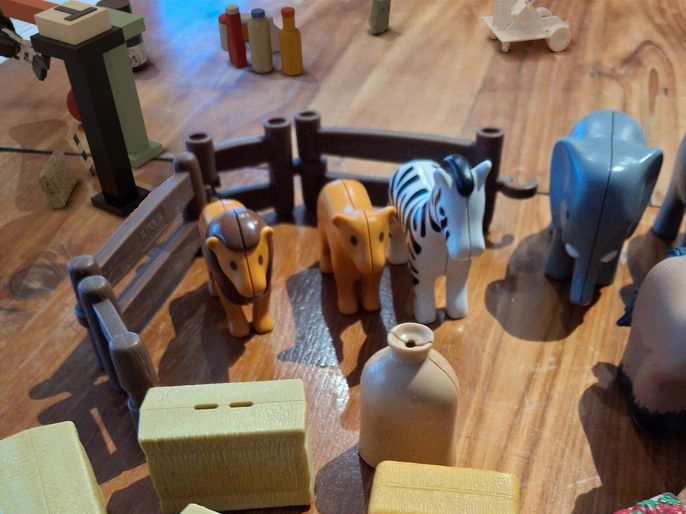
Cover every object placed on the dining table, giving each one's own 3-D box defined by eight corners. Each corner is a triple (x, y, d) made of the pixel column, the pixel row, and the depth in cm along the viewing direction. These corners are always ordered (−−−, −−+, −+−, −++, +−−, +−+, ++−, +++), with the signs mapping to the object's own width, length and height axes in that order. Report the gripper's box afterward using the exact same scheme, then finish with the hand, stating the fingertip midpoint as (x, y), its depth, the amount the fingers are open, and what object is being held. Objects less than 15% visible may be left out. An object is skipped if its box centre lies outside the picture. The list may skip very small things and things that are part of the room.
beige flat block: (112, 28, 102) (107, 6, 100) (75, 45, 98) (69, 23, 96) (29, 6, 108) (22, -15, 106) (-9, 21, 104) (-16, -1, 102)
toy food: (308, 74, 153) (305, 10, 143) (252, 86, 149) (245, 21, 140) (261, 30, 168) (256, -30, 159) (209, 41, 165) (200, -21, 155)
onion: (88, 134, 137) (75, 90, 130) (66, 126, 139) (53, 83, 132) (110, 122, 140) (98, 78, 134) (89, 114, 142) (76, 71, 136)
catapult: (499, 60, 156) (511, -26, 144) (477, 35, 165) (487, -48, 153) (577, 51, 159) (595, -34, 146) (551, 27, 168) (566, -55, 155)
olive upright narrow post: (390, 37, 165) (392, -3, 159) (367, 37, 165) (368, -3, 159) (390, 27, 169) (391, -12, 162) (367, 27, 169) (368, -12, 162)
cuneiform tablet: (95, 172, 127) (77, 209, 120) (72, 177, 128) (53, 213, 120) (75, 133, 122) (55, 168, 114) (51, 138, 123) (30, 173, 115)
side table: (171, 151, 132) (143, 16, 115) (136, 172, 127) (102, 35, 110) (134, 138, 135) (102, 6, 118) (99, 159, 131) (61, 24, 114)
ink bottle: (107, 77, 153) (90, 13, 143) (102, 61, 158) (86, -1, 149) (153, 70, 155) (140, 7, 145) (146, 55, 160) (133, -7, 151)
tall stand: (161, 198, 122) (122, 27, 102) (123, 223, 117) (75, 49, 97) (122, 183, 125) (77, 15, 105) (84, 207, 120) (29, 36, 100)
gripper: (26, 49, 125) (58, 100, 118) (-67, 33, 116) (-38, 88, 109) (30, 3, 120) (63, 54, 113) (-67, -17, 111) (-36, 37, 104)
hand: (14, 71), depth 111 cm, fingers open, 8 cm apart
